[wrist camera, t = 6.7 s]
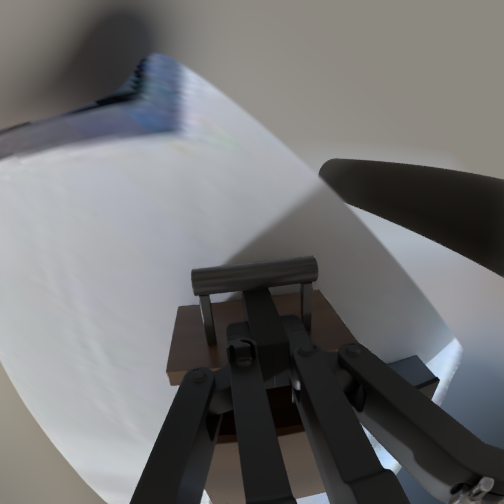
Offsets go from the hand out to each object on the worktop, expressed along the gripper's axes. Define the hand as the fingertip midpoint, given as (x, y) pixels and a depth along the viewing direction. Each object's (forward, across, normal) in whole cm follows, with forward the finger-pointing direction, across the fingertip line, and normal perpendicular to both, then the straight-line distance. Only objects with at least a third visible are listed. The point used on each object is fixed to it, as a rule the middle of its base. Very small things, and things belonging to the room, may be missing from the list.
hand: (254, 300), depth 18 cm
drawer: (+4, 0, -6) cm, 7 cm away
